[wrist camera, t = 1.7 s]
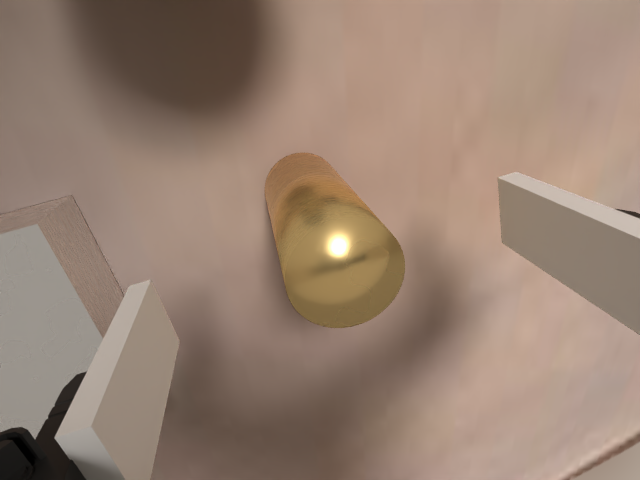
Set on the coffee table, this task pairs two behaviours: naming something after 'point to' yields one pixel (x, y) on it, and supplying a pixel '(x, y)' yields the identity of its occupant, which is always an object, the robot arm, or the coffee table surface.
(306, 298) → the brass cylinder rod
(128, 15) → the coffee table surface
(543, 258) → the robot arm
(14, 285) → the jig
